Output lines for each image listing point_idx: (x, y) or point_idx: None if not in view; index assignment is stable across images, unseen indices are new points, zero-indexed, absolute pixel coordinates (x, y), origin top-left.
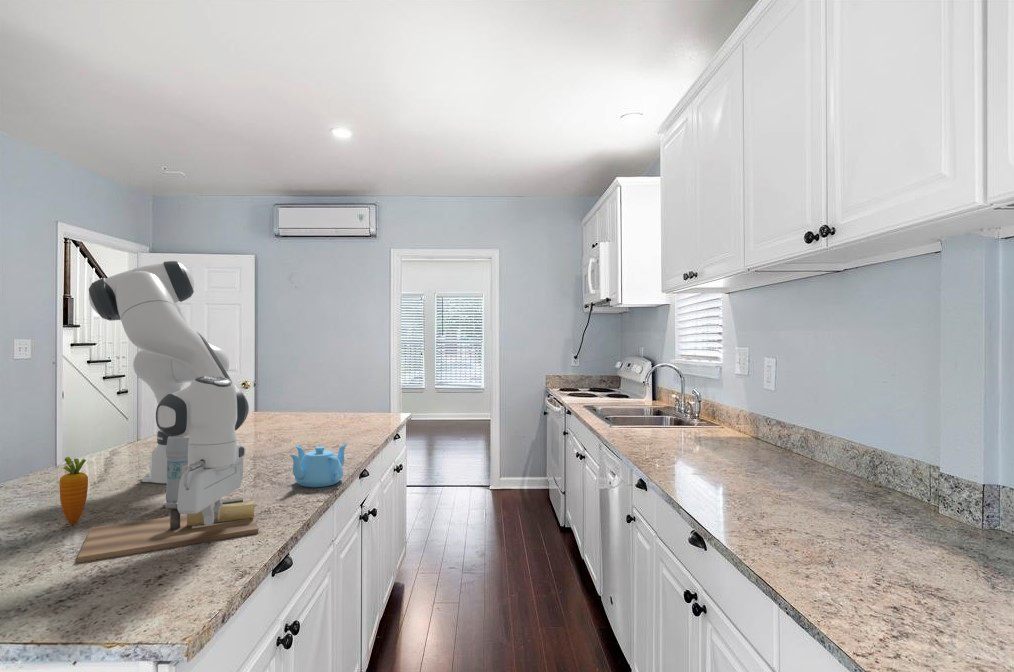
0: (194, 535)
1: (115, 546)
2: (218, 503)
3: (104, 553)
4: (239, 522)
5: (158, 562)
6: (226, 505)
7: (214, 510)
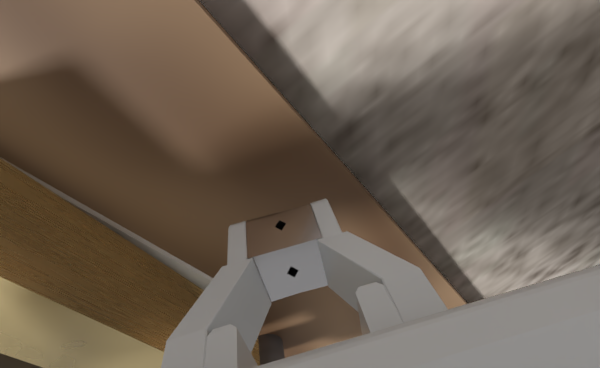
0: None
1: None
2: (238, 335)
3: None
4: (58, 163)
5: (549, 167)
6: (43, 337)
7: (255, 294)
